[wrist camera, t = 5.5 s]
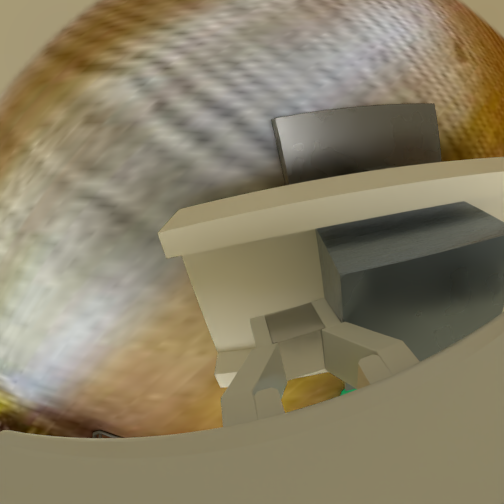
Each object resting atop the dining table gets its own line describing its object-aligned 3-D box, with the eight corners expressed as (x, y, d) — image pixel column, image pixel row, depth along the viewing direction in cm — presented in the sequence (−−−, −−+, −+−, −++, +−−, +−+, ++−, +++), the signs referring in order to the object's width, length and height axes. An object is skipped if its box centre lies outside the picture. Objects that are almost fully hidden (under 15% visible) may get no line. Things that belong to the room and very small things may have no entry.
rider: (460, 199, 10) (518, 231, 7) (452, 293, 12) (493, 340, 9) (314, 225, 11) (339, 275, 7) (327, 326, 13) (345, 391, 9)
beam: (554, 155, 10) (599, 171, 6) (544, 261, 13) (579, 289, 9) (179, 209, 13) (142, 250, 8) (226, 347, 16) (217, 411, 12)
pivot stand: (424, 104, 17) (487, 103, 11) (432, 269, 22) (479, 306, 16) (271, 119, 16) (303, 109, 10) (307, 312, 22) (337, 370, 16)
